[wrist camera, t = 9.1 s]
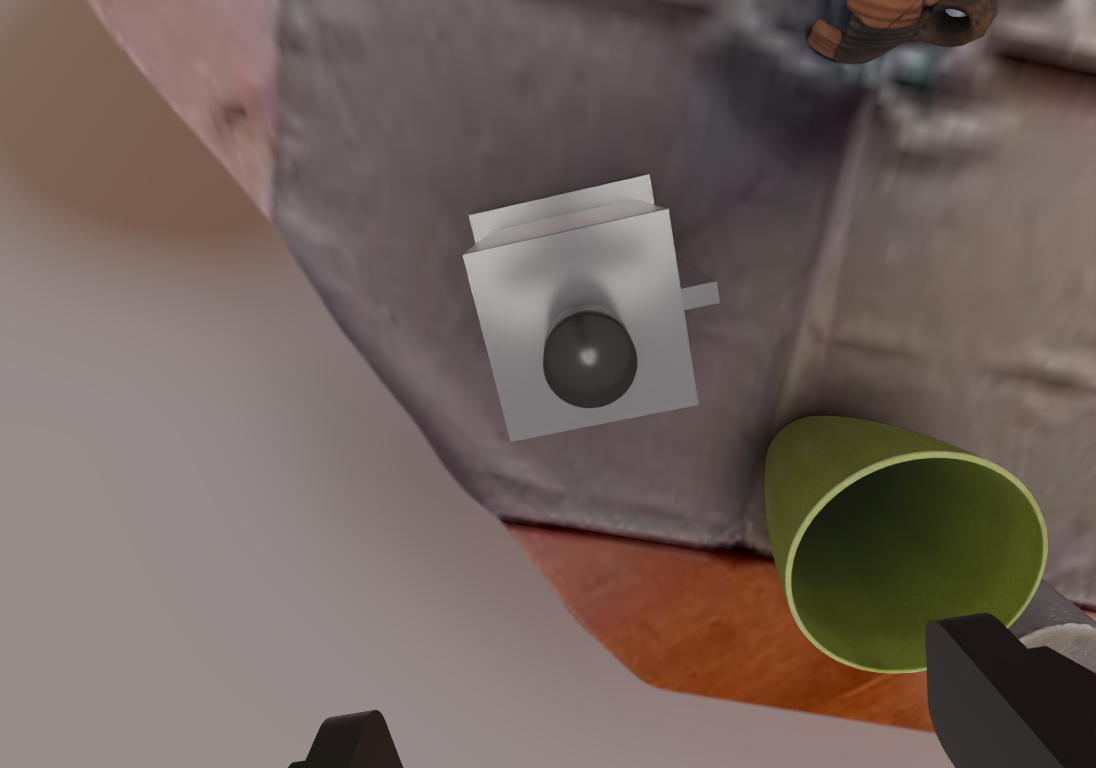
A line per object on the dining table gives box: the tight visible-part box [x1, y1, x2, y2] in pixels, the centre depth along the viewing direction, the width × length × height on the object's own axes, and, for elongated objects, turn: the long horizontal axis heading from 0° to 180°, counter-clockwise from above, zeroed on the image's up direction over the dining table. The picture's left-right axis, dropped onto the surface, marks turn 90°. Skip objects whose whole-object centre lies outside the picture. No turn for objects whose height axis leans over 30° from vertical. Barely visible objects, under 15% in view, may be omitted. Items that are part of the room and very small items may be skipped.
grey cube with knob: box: [463, 174, 720, 442], centre depth 39 cm, size 13×14×16 cm
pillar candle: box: [1008, 578, 1096, 673], centre depth 47 cm, size 10×10×15 cm
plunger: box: [543, 304, 638, 408], centre depth 35 cm, size 8×8×19 cm
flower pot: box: [764, 416, 1048, 673], centre depth 44 cm, size 15×15×16 cm
